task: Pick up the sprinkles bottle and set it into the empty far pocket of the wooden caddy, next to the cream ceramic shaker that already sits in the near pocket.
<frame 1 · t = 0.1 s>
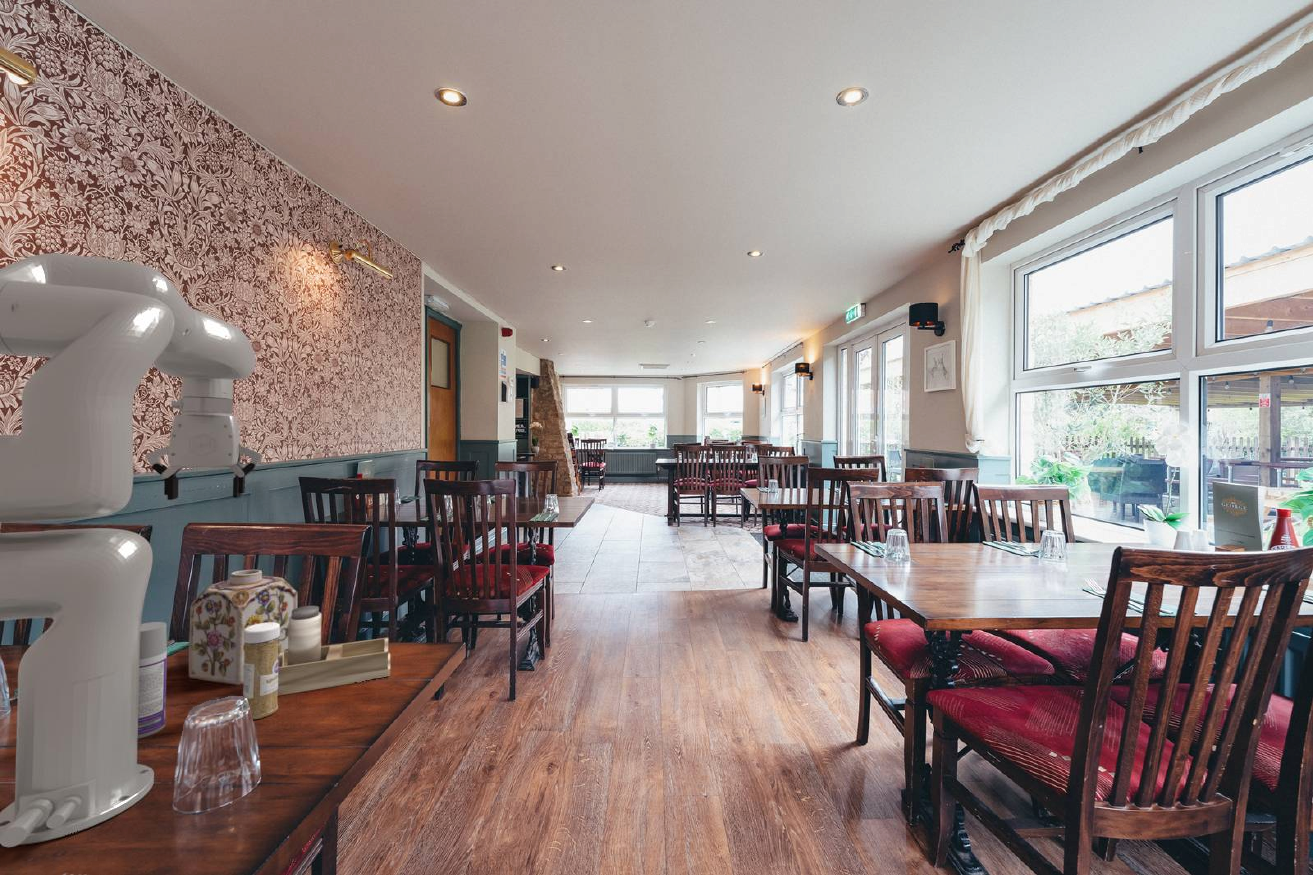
hand: (205, 498, 102), 31 cm above the table, fingers open, 9 cm apart
sprinkles bottle: (260, 714, 83), on the table
wooden caddy: (333, 677, 96), on the table
decorative jar: (245, 670, 99), on the table
container: (143, 732, 78), on the table
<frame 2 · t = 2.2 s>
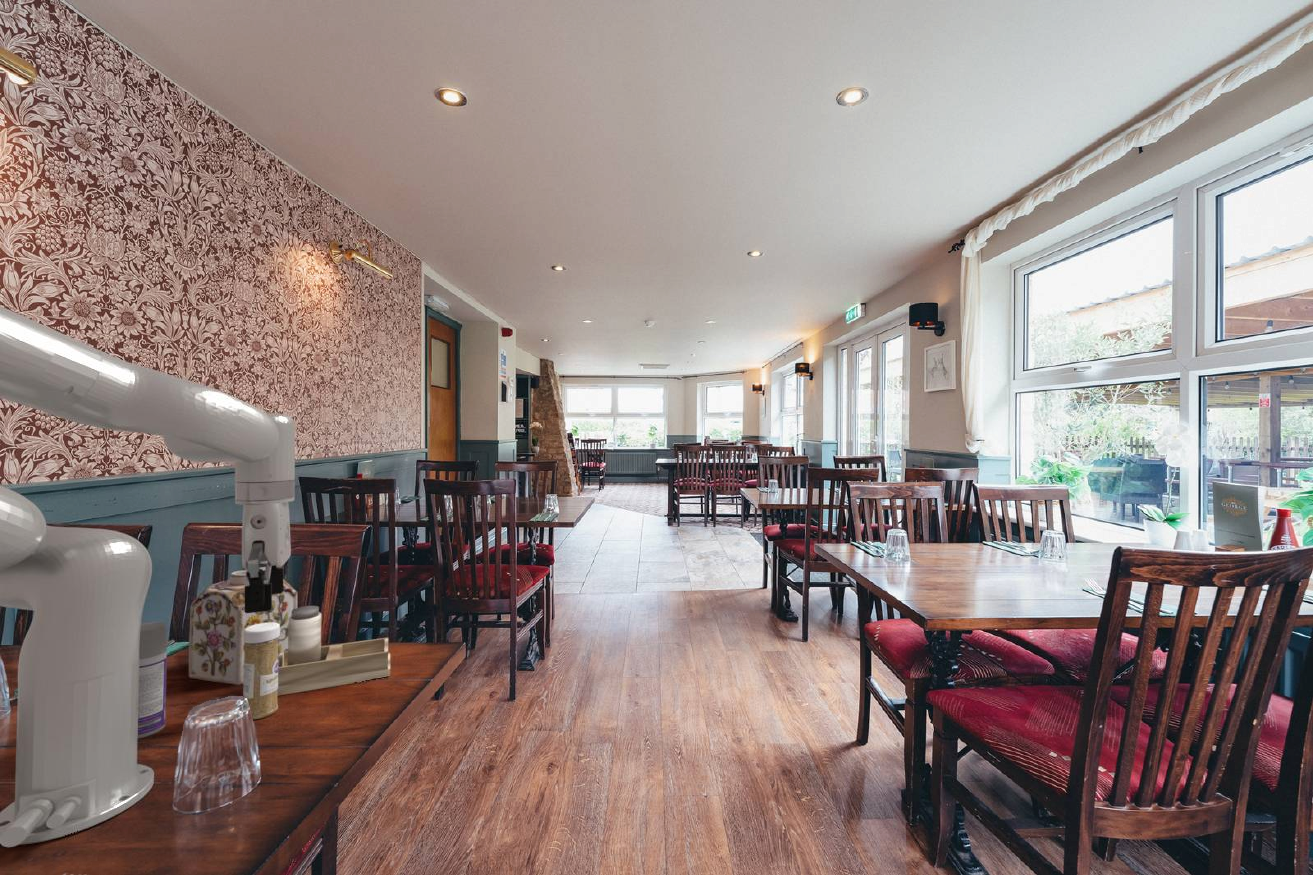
hand: (265, 602, 84), 17 cm above the table, fingers open, 9 cm apart
nothing on the table moved.
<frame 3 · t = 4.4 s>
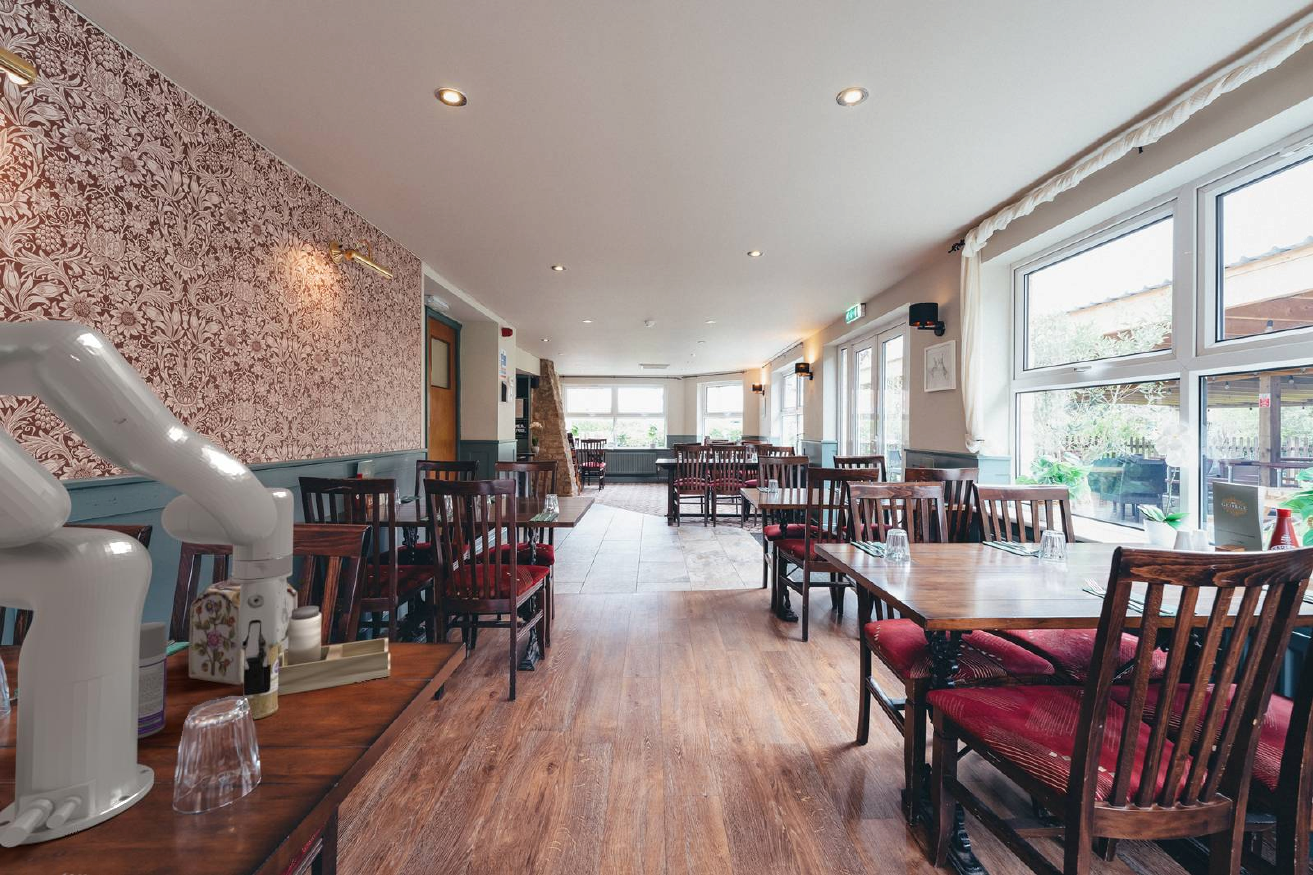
hand: (260, 685, 83), 4 cm above the table, fingers closed on sprinkles bottle, 4 cm apart
sprinkles bottle: (260, 714, 83), on the table, touching gripper
everything else where it was.
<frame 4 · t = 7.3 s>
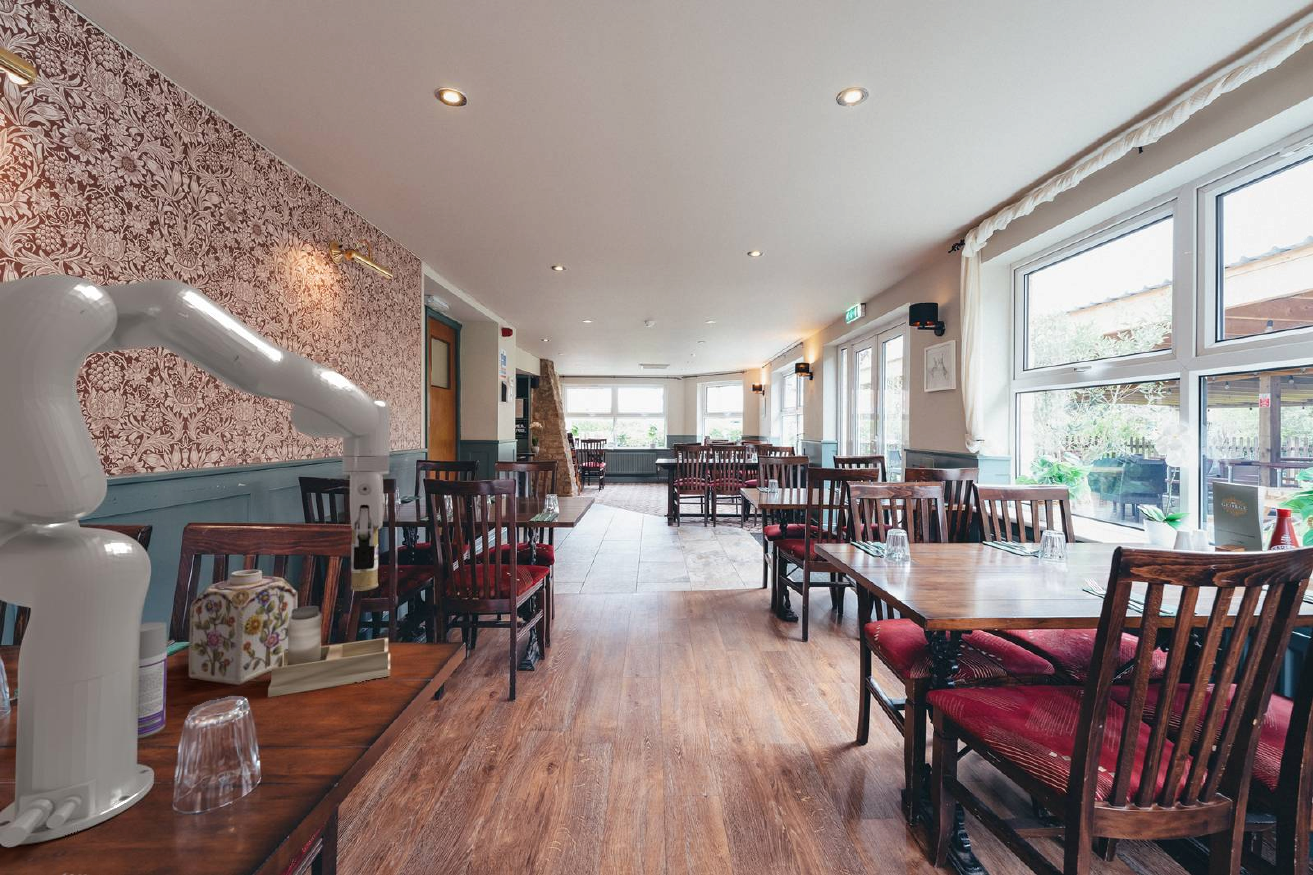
hand: (364, 564, 98), 20 cm above the table, fingers closed on sprinkles bottle, 4 cm apart
sprinkles bottle: (364, 589, 98), point 15 cm above the table, touching gripper
everything else where it was.
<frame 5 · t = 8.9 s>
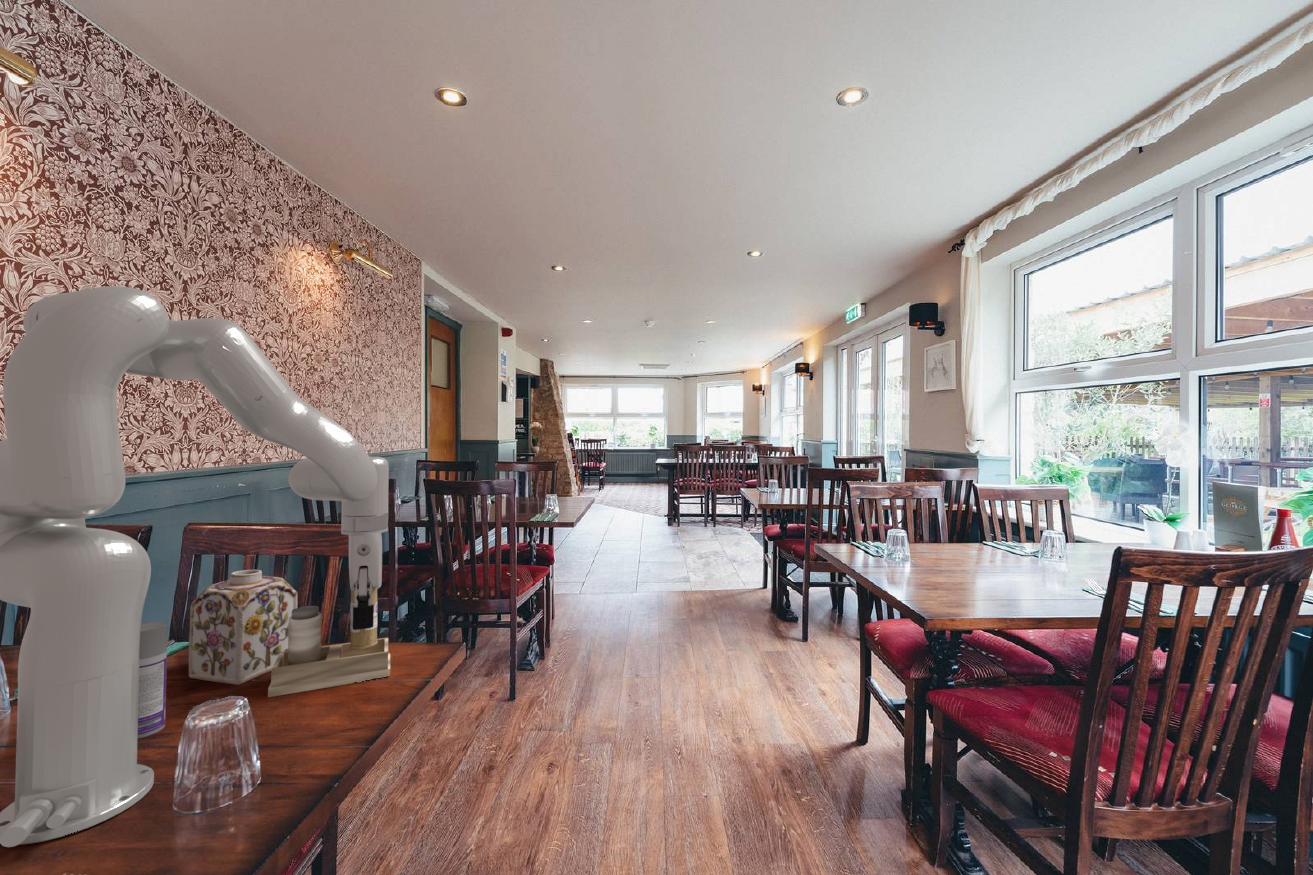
hand: (363, 623, 98), 9 cm above the table, fingers closed on sprinkles bottle, 4 cm apart
sprinkles bottle: (363, 647, 98), point 5 cm above the table, touching gripper
everything else where it was.
when the fingers open (7 cm above the table, at t = 10.2 s): sprinkles bottle stays where it is, resting on wooden caddy.
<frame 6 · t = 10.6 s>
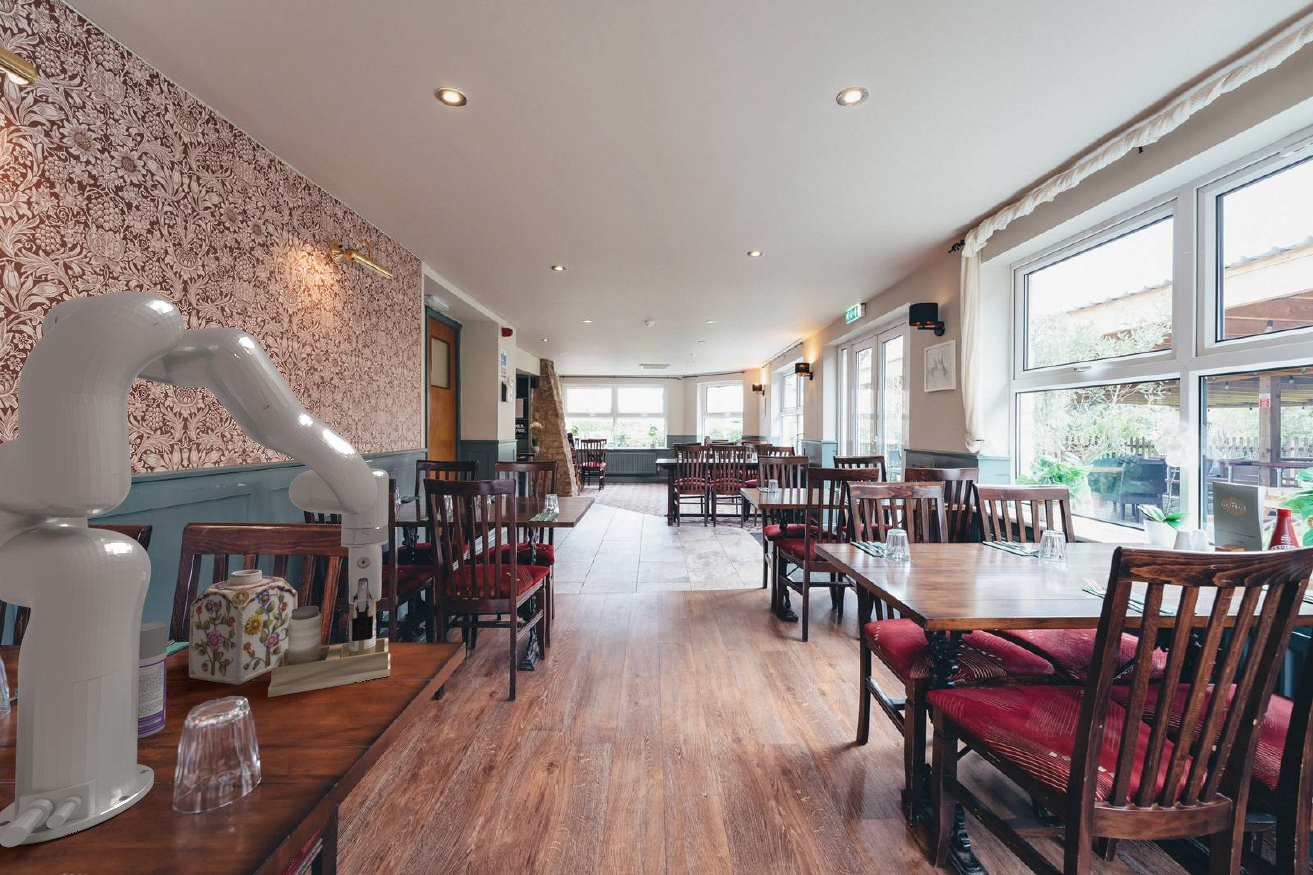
hand: (363, 631, 98), 8 cm above the table, fingers open, 8 cm apart
sprinkles bottle: (361, 666, 98), point 1 cm above the table, touching wooden caddy
everything else where it was.
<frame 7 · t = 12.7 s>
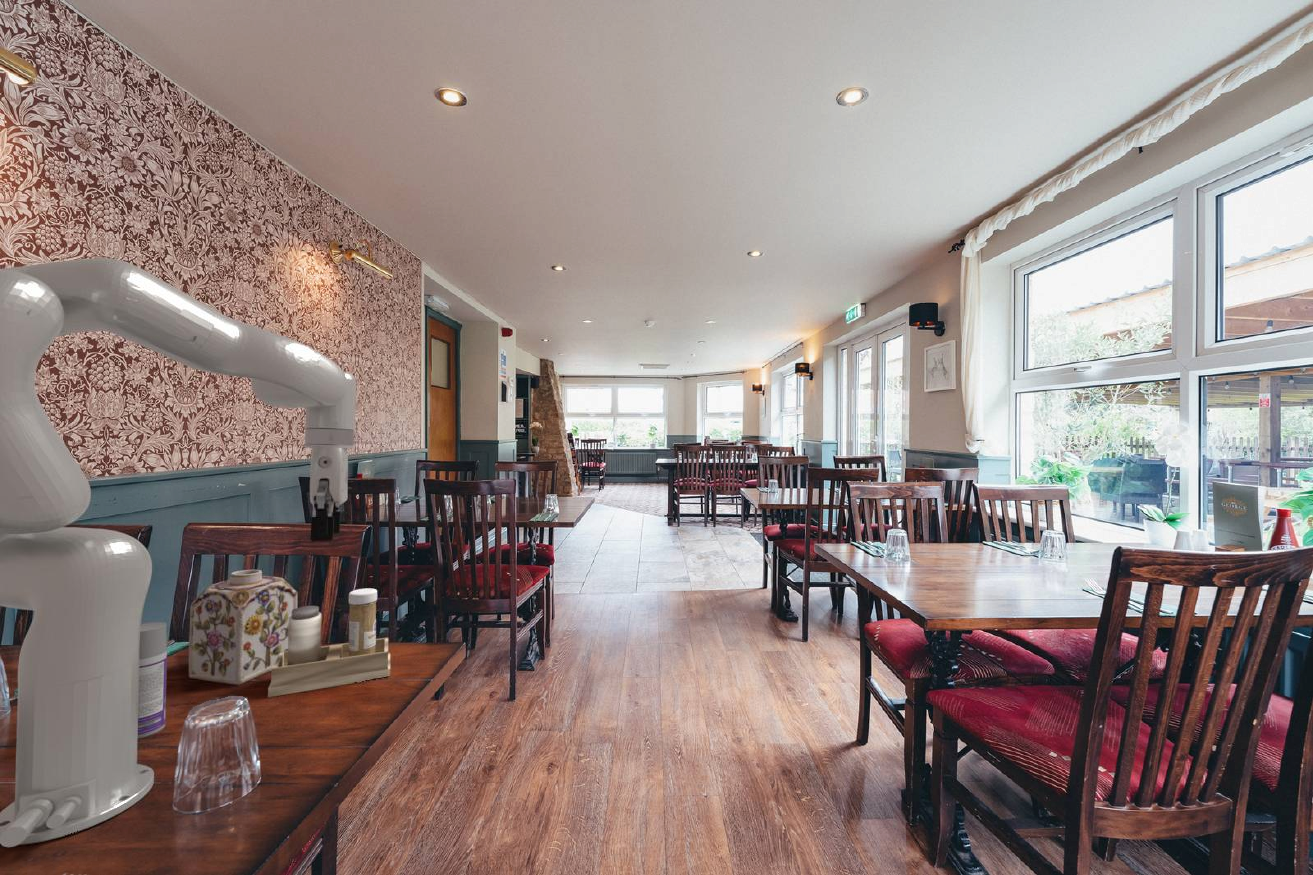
hand: (325, 536, 95), 25 cm above the table, fingers open, 9 cm apart
nothing on the table moved.
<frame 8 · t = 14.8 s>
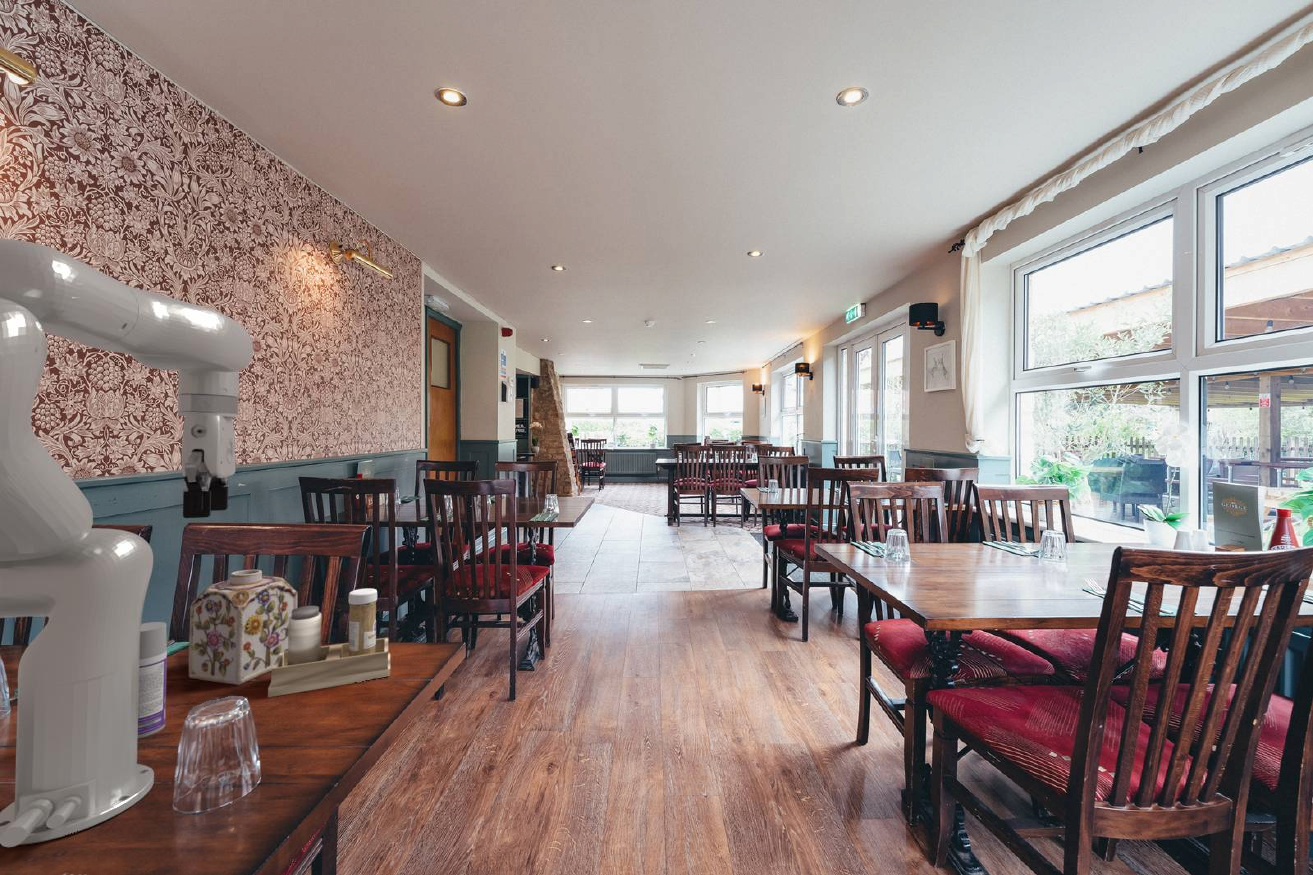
hand: (206, 513, 87), 30 cm above the table, fingers open, 9 cm apart
nothing on the table moved.
at the end: sprinkles bottle 0.1 cm from the target spot on the wooden caddy, point 1.3 cm above the wooden caddy's base; sprinkles bottle tilted 0°; the gripper is holding nothing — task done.
